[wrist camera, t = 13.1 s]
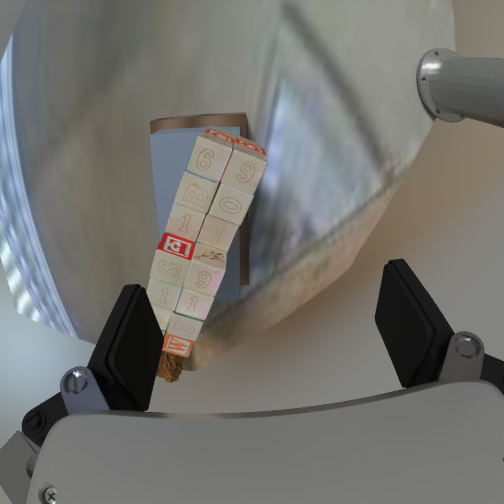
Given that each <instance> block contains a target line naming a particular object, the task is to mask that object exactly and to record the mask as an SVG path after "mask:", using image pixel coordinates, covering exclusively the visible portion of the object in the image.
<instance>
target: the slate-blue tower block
mask: <svg viewBox="0 0 504 504" xmlns="http://www.w3.org/2000/svg"><path fill="white" fill-rule="evenodd" d="M207 128H209V127H202V128H181V129H166V130H159V131H157V132H155V133H153V134H151V135H150V145H151V159H152V171H153V182H154V192H155V202H156V211H157V219H158V227H159V235H160V240H161V238H162V236H163V234H164V232H165V229H166V225H167V222H168V219H169V215H170V212H171V209H172V206H173V203H174V200H175V197H176V194H177V191H178V188H179V185H180V182H181V179H182V176H183V173H184V171H185V169H186V167H187V164H188V161H189V158H190V155H191V153H192V150H193V147H194V145H195V142H196V139H197V137H198V136H199V135H200V134H201V133H202V132H204V131H205V130H206V129H207ZM218 128H221V129H223V130H226V131H229V132H231V133H234V134H236V135H238V136H240V127H218ZM214 301H240V226H239V228H238V230H237V232H236V235H235V237H234V239H233V241H232V243H231V246H230V248H229V250H228V252H227V260H226V271H225V274H224V276H223V279H222V281H221V284H220V286H219V288H218V291H217V293H216V295H215V297H214Z"/></svg>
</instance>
